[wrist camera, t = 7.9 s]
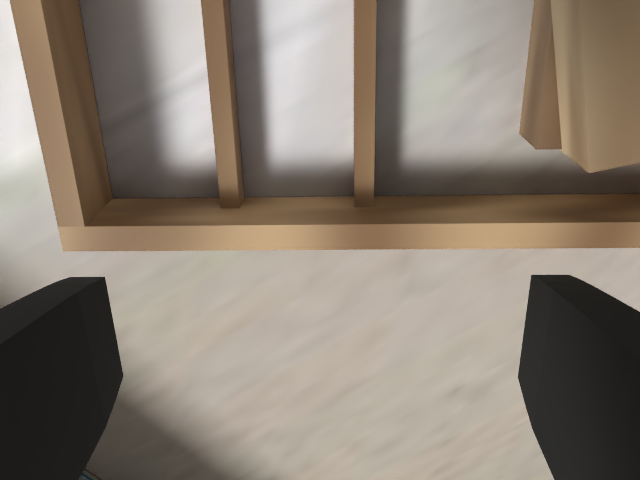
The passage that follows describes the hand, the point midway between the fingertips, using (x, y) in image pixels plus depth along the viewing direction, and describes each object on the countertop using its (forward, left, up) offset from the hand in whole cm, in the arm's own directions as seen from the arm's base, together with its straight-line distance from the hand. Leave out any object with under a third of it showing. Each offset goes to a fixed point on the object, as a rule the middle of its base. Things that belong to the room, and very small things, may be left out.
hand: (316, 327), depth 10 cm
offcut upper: (-8, -3, -8) cm, 12 cm away
